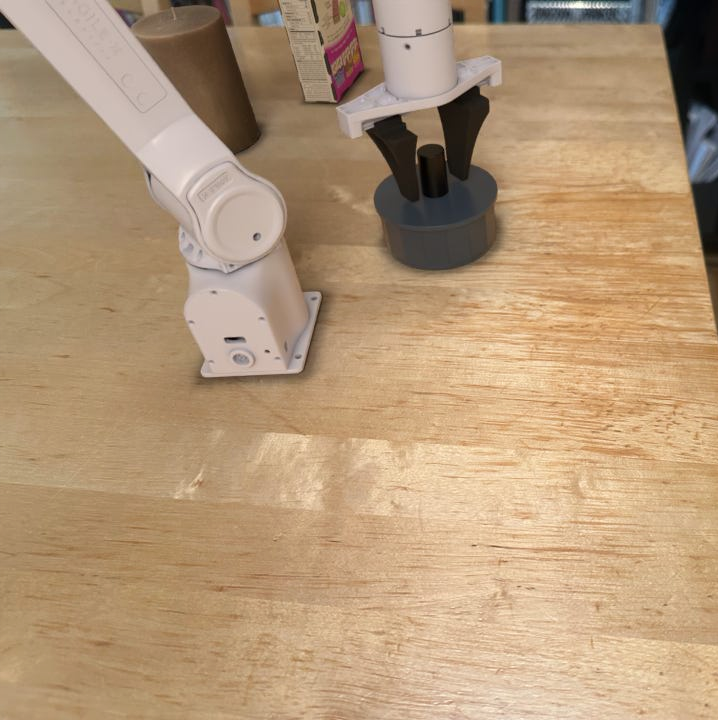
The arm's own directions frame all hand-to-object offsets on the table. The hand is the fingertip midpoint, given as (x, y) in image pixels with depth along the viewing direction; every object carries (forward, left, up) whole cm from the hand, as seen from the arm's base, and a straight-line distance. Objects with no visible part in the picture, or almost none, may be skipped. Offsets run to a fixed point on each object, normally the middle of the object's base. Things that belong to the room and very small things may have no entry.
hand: (434, 186), depth 58 cm
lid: (0, 0, -1) cm, 1 cm away
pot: (0, 0, -5) cm, 5 cm away
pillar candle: (+23, +28, -6) cm, 37 cm away
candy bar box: (+37, +16, -6) cm, 41 cm away
